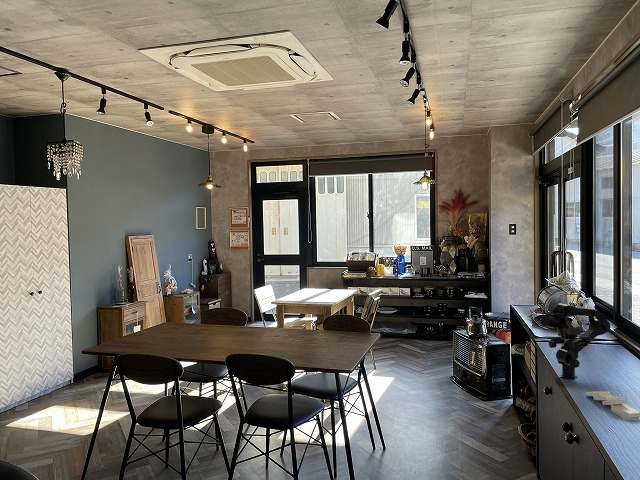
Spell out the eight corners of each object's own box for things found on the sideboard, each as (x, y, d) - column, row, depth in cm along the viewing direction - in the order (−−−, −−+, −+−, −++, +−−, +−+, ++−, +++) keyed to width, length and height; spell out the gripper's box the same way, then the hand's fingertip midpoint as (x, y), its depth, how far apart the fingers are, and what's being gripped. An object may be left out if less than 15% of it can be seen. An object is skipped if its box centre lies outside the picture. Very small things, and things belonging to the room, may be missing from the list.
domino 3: (602, 401, 209) (614, 400, 200) (614, 400, 209) (626, 399, 200) (603, 405, 209) (615, 404, 199) (615, 404, 209) (627, 403, 199)
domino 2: (593, 396, 215) (605, 396, 206) (604, 395, 215) (617, 395, 206) (593, 400, 215) (606, 400, 205) (605, 399, 215) (618, 399, 205)
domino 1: (585, 392, 220) (598, 392, 211) (596, 391, 220) (610, 391, 211) (586, 396, 220) (599, 396, 210) (597, 395, 220) (610, 395, 210)
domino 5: (610, 408, 203) (626, 418, 193) (622, 407, 203) (639, 417, 193) (610, 412, 203) (626, 422, 193) (622, 411, 203) (639, 421, 193)
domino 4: (611, 404, 203) (629, 413, 193) (622, 403, 203) (641, 412, 194) (611, 408, 203) (629, 417, 193) (622, 407, 204) (641, 416, 194)
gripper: (552, 320, 234) (565, 349, 224) (589, 319, 236) (604, 348, 225) (542, 332, 242) (555, 361, 232) (579, 331, 244) (592, 360, 234)
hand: (577, 358), depth 231 cm, fingers closed
